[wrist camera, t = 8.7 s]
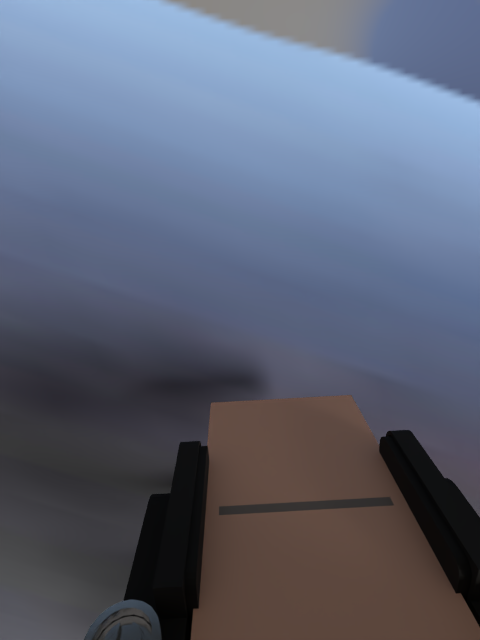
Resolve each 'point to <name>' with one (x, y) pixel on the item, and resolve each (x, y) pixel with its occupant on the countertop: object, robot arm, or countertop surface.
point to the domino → (314, 533)
